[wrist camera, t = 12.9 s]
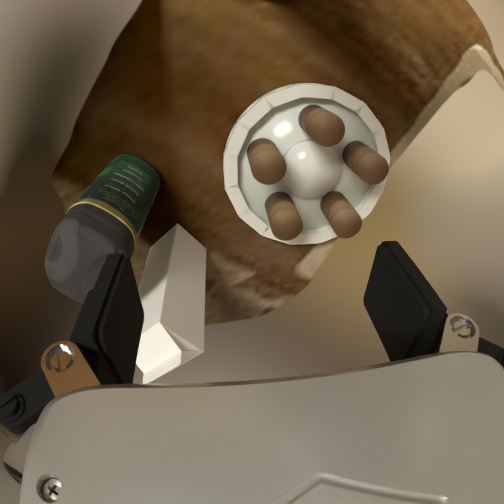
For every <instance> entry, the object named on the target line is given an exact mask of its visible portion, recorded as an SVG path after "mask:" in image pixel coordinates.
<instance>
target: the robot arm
mask: <svg viewBox="0 0 504 504" xmlns="http://www.w3.org/2000/svg"><path fill="white" fill-rule="evenodd" d="M364 306H365V308H366V310H367V311H368V314H369V316H370V318H371V320H372V322H373V324H374V327H375V329H376V331H377V333H378V335H379V337H380V339H381V341H382V344H383V346H384V348H385V350H386V352H387V354H388V357H389V359H390V361H391V362H387V363H382V364H376V365H371V366H365V367H359V368H353V369H346V370H340V371H333V372H326V373H319V374H310V375H302V376H293V377H284V378H273V379H262V380H248V381H235V382H213V383H175V384H132V383H133V377H134V371H135V365H136V360H137V354H138V348H139V343H140V338H141V333H142V328H143V323H144V310H143V306H142V303H141V299H140V296H139V292H138V288H137V285H136V281H135V277H134V273H133V269H132V265H131V261H130V258H129V257H125V255H124V254H123V253H121V254H109V255H108V256H107V258H106V260H105V263H104V265H103V267H102V269H101V272H100V274H99V276H98V279H97V281H96V283H95V286H94V288H93V289H91V290H90V291H89V292H88V294H87V296H86V299H85V301H84V303H83V306H82V308H81V311H80V313H79V316H78V318H77V321H76V324H75V326H74V329H73V332H72V334H71V337H70V340H69V341H61V342H57V343H55V344H53V345H51V346H50V347H48V348H47V350H46V351H45V352H44V354H43V356H42V359H41V366H42V369H41V370H40V371H38V372H37V373H35V374H34V375H32V376H31V377H29V378H28V379H26V380H25V381H23V382H22V383H20V384H19V385H17V386H16V387H14V388H13V389H11V390H10V391H8V392H7V393H5V394H4V395H3V396H2V397H1V398H0V504H504V348H501V347H499V346H497V345H495V344H493V343H491V342H489V341H487V340H484V339H482V338H480V337H479V329H478V326H477V324H476V323H475V322H474V320H472V319H471V318H470V317H468V316H466V315H464V314H461V313H453V314H451V315H449V316H448V315H447V313H446V311H447V308H446V306H445V305H444V304H443V302H442V301H441V299H440V298H439V296H438V295H437V293H436V292H435V291H434V289H433V288H432V286H431V285H430V284H429V282H428V281H427V280H426V278H425V277H424V276H423V274H422V273H421V271H420V270H419V269H418V267H417V266H416V265H415V263H414V262H413V261H412V260H411V258H410V257H409V256H408V254H407V253H406V252H405V251H404V249H403V248H402V247H401V245H400V244H399V243H398V242H397V241H384V242H382V243H381V245H379V246H378V247H377V250H376V254H375V258H374V262H373V266H372V269H371V273H370V277H369V281H368V284H367V288H366V291H365V295H364Z"/></svg>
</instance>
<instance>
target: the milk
mask: <svg viewBox="0 0 504 504" xmlns="http://www.w3.org/2000/svg"><path fill="white" fill-rule="evenodd" d="M206 252H207V249H206V248H205V247H204V246H203V245H202V244H200V243H199V242H198V241H197V240H196V239H195V238H194V237H193V236H192V235H190V234H189V233H188V232H187V231H186V230H185V229H184V228H183V227H182V226H180V225H179V224H178V223H177V224H176V225H175V226H174V227H173V228H171V229H170V230H169V231H168V232H167V233H166V234H165V235H163V236H162V237H161V238H160V239H159V240H158V241H157V242H156V243H155V244H153V245H152V246H151V247H150V250H149V254H148V257H147V260H146V264H145V267H144V271H143V274H142V278H141V282H140V285H139V289H138V292H139V296H140V299H141V303H142V306H143V310H144V323H143V328H142V333H141V338H140V343H139V348H138V354H137V360H136V364H137V365H138V367H139V368H140V369H141V371H142V372H143V373H144V377H143V384H147V383H149V382H151V381H153V380H155V379H156V378H158V377H160V376H162V375H163V374H165V373H168V372H170V371H172V370H173V369H175V368H177V367H179V366H180V365H182V364H184V363H186V362H187V361H189V360H191V359H193V358H194V357H196V356H197V355H199V354H201V353H203V352H204V318H205V280H206Z"/></svg>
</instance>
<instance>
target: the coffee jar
mask: <svg viewBox="0 0 504 504" xmlns="http://www.w3.org/2000/svg"><path fill="white" fill-rule="evenodd" d="M159 188H160V177H159V175H158V173H157V172H156V170H155V169H154V168H153V167H151V166H150V165H149V164H148V163H146V162H145V161H143V160H142V159H140V158H138V157H136V156H133V155H130V154H122V155H119V156H117V157H116V158H114V159H113V160H112V161H111V162H110V163H109V164H108V166H107V167H106V168H105V169H104V170H103V171H102V172H101V173H100V174H99V176H98V177H97V178H96V179H95V180H94V181H93V182H92V183H91V184H90V186H89V187H88V188H87V189H86V190H85V191H84V193H83V194H82V195H81V196H80V197H79V198H78V200H77V201H76V202H75V203H74V204H73V205H72V206H71V207H70V208H69V210H68V211H67V212H66V214H65V215H64V217H63V218H62V220H61V221H60V223H59V224H58V226H57V228H56V230H55V232H54V234H53V236H52V238H51V241H50V243H49V246H48V249H47V253H46V257H45V269H46V273H47V275H48V278H49V279H50V282H51V285H52V286H53V287H55V288H56V289H57V290H59V291H60V292H62V293H63V294H65V295H67V296H68V297H70V298H72V299H74V300H75V301H78V302H79V303H82V304H83V303H84V301H85V299H86V296H87V294H88V292H89V291H90V290H91V289H93V288H94V286H95V283H96V281H97V279H98V276H99V274H100V272H101V269H102V267H103V265H104V263H105V260H106V258H107V256H108V255H109V254H121V253H123V254H124V255H125V257H129V258H130V259H131V257H132V255H133V252H134V249H135V246H136V243H137V240H138V237H139V235H140V232H141V230H142V227H143V225H144V222H145V220H146V217H147V215H148V213H149V210H150V208H151V206H152V204H153V202H154V199H155V197H156V195H157V193H158V190H159Z"/></svg>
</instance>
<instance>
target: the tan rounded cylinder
mask: <svg viewBox="0 0 504 504" xmlns="http://www.w3.org/2000/svg"><path fill="white" fill-rule="evenodd" d="M298 122H299V125H300V127H301V128H302V130H303V131H305V132H306V133H307V134H308V135H309V136H310V137H311V138H312V139H313V140H314V141H315V142H316V143H318V144H319V145H321V146H324V147H331V146H334V145H336V144H338V143H339V142H340V141H341V140H342V139H343V137H344V134H345V125H344V122H343V120H342V119H341V118H340V117H339V116H338V115H336V114H334V113H332V112H330V111H328V110H327V109H325V108H323V107H321V106H319V105H308V106H306V107H304V108H303V109H302V110H301V112H300V114H299V117H298Z"/></svg>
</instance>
